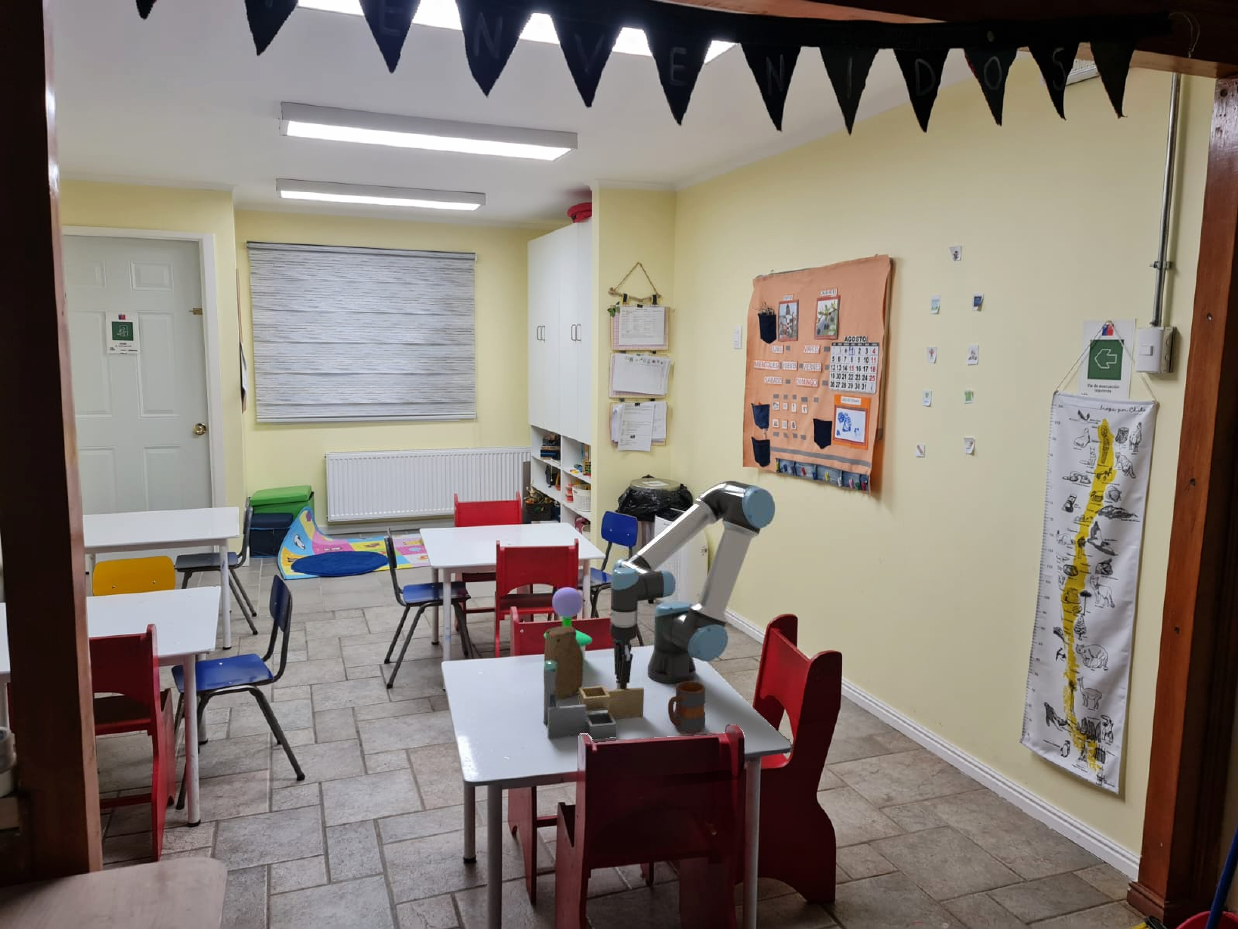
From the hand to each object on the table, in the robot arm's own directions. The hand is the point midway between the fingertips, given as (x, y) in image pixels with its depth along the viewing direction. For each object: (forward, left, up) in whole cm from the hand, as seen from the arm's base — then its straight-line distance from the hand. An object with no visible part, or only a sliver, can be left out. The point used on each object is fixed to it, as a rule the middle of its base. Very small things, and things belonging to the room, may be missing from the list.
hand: (621, 702), depth 245 cm
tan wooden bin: (+4, +6, -1) cm, 8 cm away
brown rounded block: (+14, -13, -2) cm, 19 cm away
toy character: (+8, -37, -2) cm, 38 cm away
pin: (+21, +5, -2) cm, 22 cm away
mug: (-14, +16, -2) cm, 21 cm away
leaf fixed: (+15, +14, -1) cm, 20 cm away
